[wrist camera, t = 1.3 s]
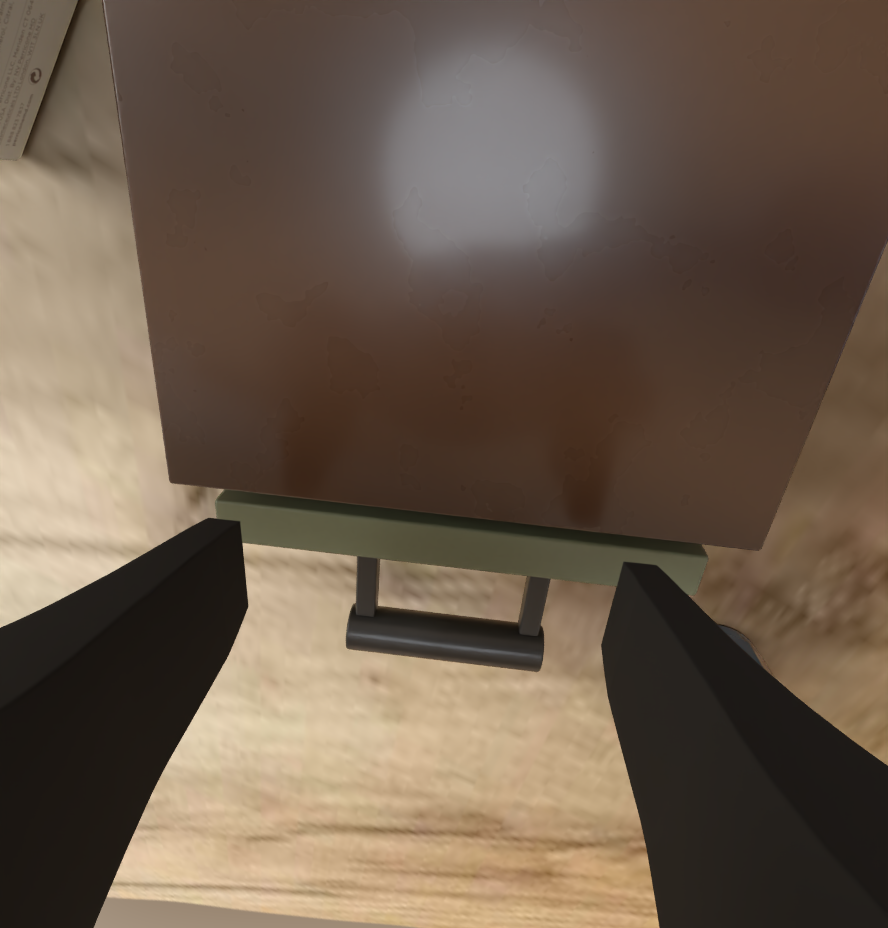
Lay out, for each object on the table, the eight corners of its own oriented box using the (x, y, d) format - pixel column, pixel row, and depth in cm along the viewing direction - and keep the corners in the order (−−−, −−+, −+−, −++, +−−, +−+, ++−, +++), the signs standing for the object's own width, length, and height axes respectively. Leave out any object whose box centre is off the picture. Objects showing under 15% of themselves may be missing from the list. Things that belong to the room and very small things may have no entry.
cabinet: (661, 414, 20) (761, 552, 13) (284, 373, 20) (168, 484, 13) (802, -90, 14) (1144, -380, 7) (266, -138, 14) (33, -468, 7)
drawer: (605, 585, 22) (646, 732, 16) (298, 550, 23) (231, 681, 17) (751, 46, 15) (928, -42, 9) (284, 1, 15) (150, -113, 9)
